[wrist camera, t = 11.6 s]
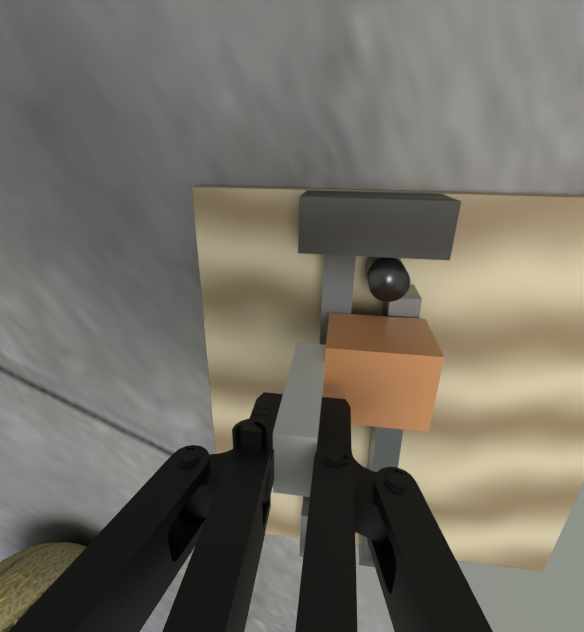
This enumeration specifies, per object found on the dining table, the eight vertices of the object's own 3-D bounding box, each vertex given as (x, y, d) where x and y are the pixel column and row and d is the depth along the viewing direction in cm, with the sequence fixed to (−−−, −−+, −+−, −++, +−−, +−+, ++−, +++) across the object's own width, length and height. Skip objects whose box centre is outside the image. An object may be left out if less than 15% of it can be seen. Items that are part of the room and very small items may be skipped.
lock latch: (329, 312, 20) (325, 348, 16) (425, 318, 19) (444, 357, 15) (325, 375, 21) (321, 421, 18) (414, 383, 21) (428, 431, 17)
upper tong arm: (366, 248, 20) (370, 262, 18) (441, 250, 20) (456, 265, 17) (345, 533, 30) (345, 571, 27) (396, 539, 29) (401, 578, 27)
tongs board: (201, 185, 22) (162, 192, 17) (685, 197, 19) (797, 210, 14) (227, 512, 33) (208, 569, 28) (533, 553, 30) (568, 625, 25)
